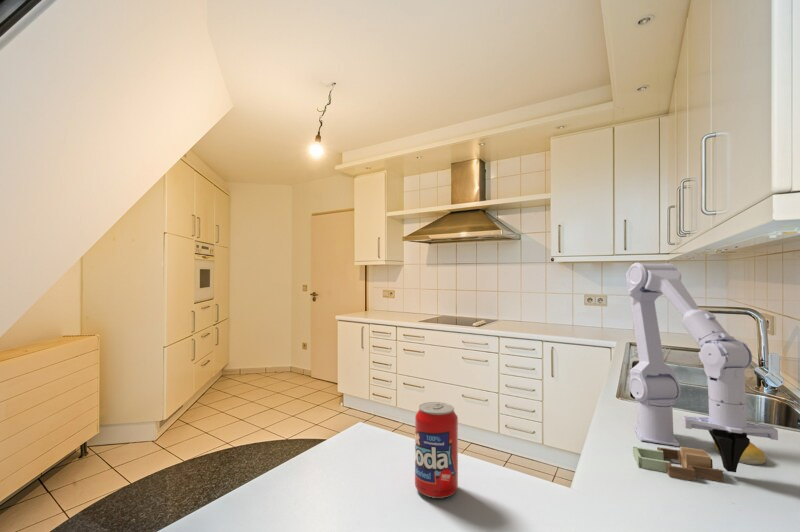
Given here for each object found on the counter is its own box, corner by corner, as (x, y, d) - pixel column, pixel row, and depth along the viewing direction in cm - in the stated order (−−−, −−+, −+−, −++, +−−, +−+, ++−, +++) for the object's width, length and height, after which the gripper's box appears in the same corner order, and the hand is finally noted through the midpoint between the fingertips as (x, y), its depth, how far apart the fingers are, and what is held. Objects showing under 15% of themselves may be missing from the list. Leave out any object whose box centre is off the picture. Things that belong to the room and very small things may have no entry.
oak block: (681, 465, 79) (680, 446, 79) (704, 469, 77) (703, 449, 77) (686, 474, 75) (686, 454, 75) (711, 478, 73) (710, 457, 74)
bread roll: (726, 462, 81) (725, 444, 81) (710, 446, 89) (709, 429, 89) (776, 470, 78) (774, 450, 78) (754, 452, 86) (753, 434, 86)
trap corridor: (631, 452, 85) (631, 443, 85) (708, 464, 79) (707, 454, 79) (640, 471, 76) (640, 461, 76) (727, 486, 70) (726, 476, 70)
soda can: (464, 486, 69) (464, 404, 70) (447, 507, 63) (447, 416, 64) (426, 475, 73) (427, 398, 74) (407, 494, 67) (407, 408, 68)
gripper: (689, 401, 74) (691, 471, 73) (785, 411, 68) (789, 487, 68) (678, 392, 81) (680, 456, 80) (765, 400, 75) (769, 470, 74)
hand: (729, 469), depth 74 cm, fingers closed
